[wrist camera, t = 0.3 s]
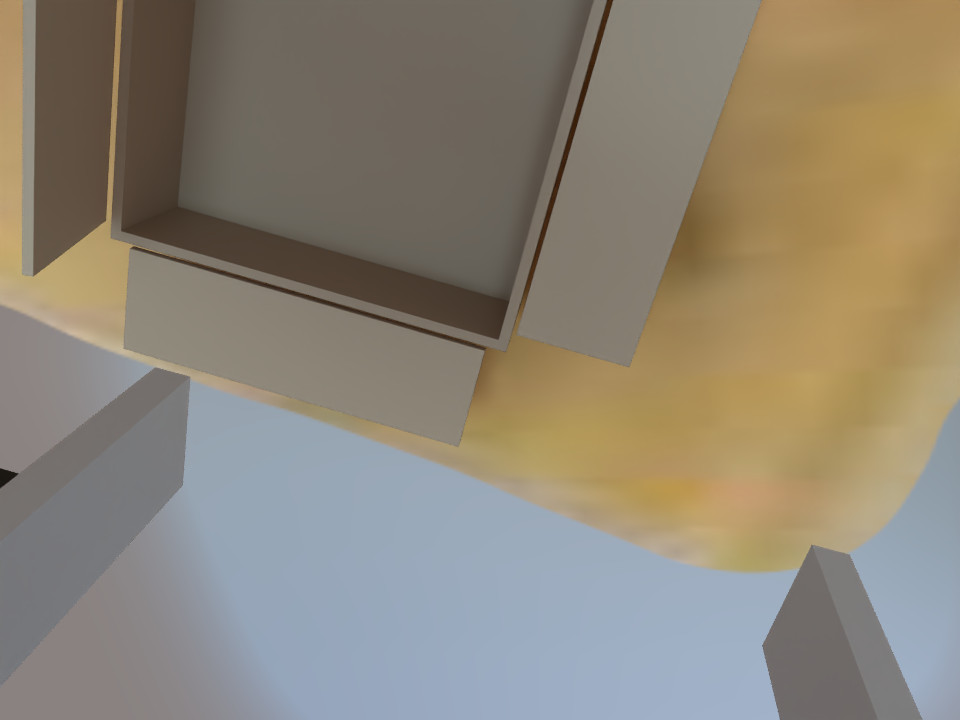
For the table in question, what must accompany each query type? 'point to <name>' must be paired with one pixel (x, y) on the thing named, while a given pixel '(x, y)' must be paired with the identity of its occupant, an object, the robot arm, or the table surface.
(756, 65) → the table surface
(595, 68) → the carton
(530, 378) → the table surface
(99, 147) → the flap
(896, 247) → the table surface
